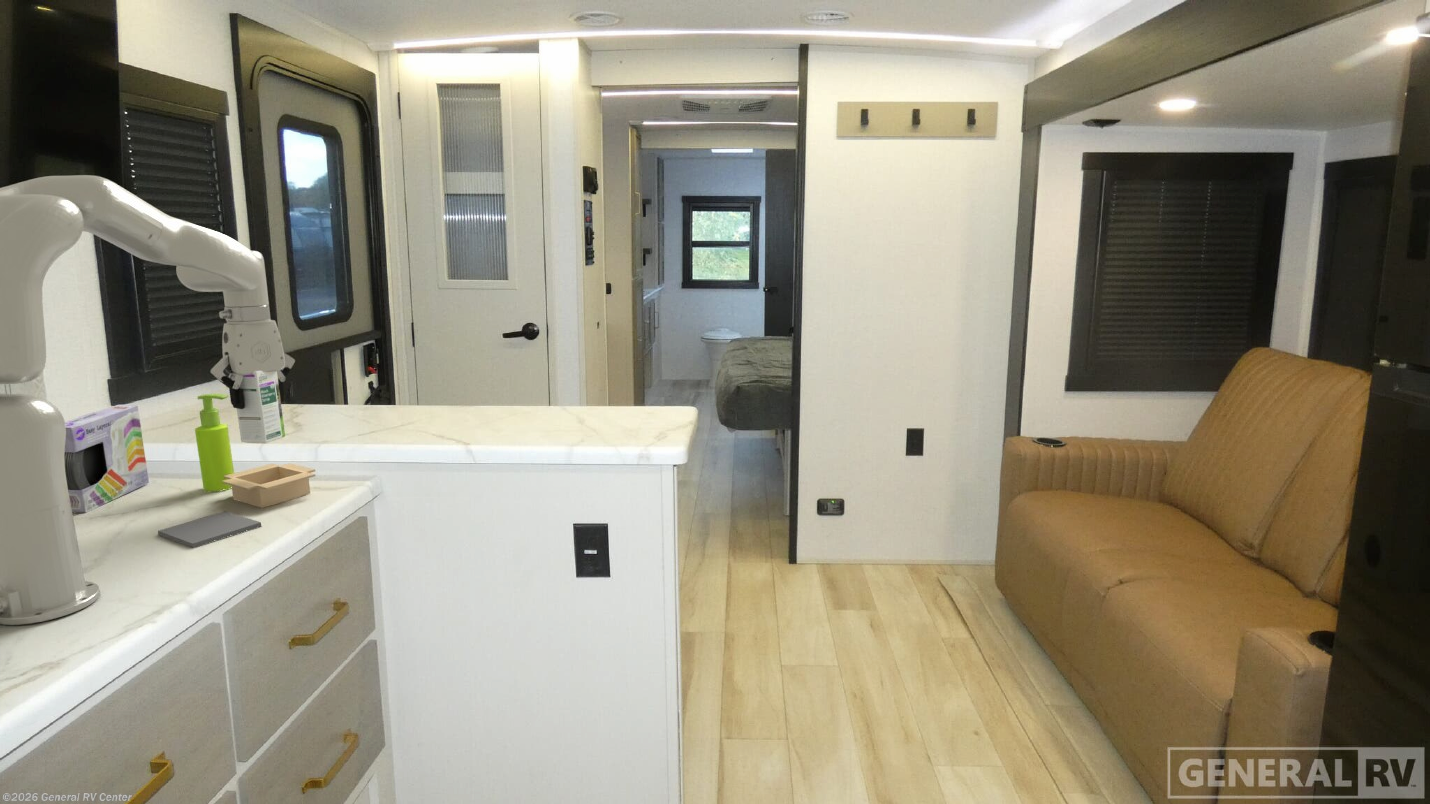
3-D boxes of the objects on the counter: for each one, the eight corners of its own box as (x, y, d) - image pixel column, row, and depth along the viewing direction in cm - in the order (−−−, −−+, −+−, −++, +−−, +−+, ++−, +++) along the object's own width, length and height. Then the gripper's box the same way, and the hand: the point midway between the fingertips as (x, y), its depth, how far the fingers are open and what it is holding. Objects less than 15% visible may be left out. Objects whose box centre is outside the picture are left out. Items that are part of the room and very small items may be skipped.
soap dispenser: (230, 491, 176) (217, 397, 172) (197, 492, 176) (183, 397, 172) (246, 483, 182) (233, 391, 178) (214, 483, 182) (201, 391, 178)
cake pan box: (83, 515, 163) (67, 426, 160) (58, 515, 164) (41, 426, 160) (152, 484, 182) (139, 403, 178) (130, 484, 182) (116, 403, 179)
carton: (259, 513, 163) (256, 490, 162) (216, 500, 171) (213, 478, 170) (326, 492, 175) (324, 471, 174) (283, 481, 183) (281, 461, 182)
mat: (193, 547, 146) (192, 543, 146) (158, 534, 153) (157, 530, 152) (261, 526, 156) (260, 522, 156) (225, 515, 162) (225, 511, 162)
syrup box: (265, 444, 167) (257, 370, 164) (239, 442, 168) (230, 370, 165) (285, 437, 172) (277, 366, 169) (260, 436, 173) (252, 365, 170)
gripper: (212, 320, 156) (224, 414, 159) (301, 312, 170) (310, 399, 174) (191, 318, 160) (203, 410, 163) (280, 310, 174) (289, 395, 178)
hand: (258, 403), depth 169 cm, fingers closed on syrup box, 7 cm apart
